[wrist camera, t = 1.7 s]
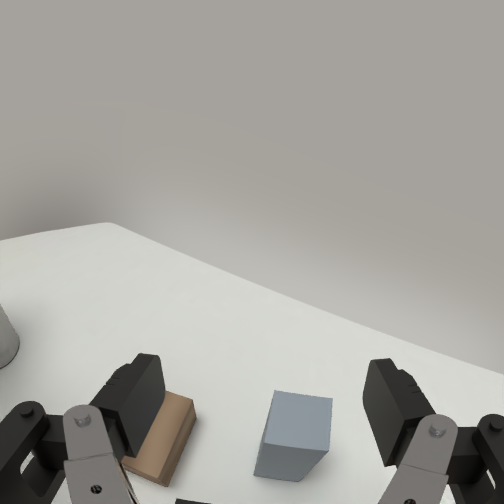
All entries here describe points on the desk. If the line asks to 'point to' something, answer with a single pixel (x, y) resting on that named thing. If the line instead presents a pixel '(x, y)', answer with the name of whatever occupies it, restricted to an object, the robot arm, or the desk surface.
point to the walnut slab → (164, 440)
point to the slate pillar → (294, 436)
